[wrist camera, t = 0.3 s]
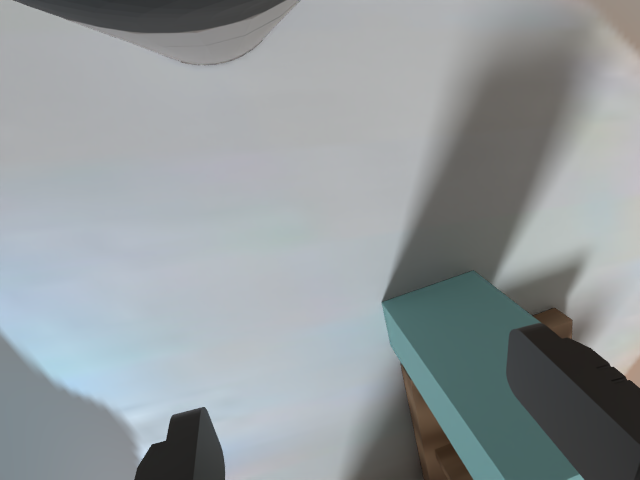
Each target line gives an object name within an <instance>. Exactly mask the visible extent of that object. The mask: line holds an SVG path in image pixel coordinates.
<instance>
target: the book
mask: <svg viewBox="0 0 640 480" xmlns="http://www.w3.org/2000/svg"><path fill="white" fill-rule="evenodd" d="M382 307H383V311H384V316H385V321H386V325H387V330H388V335H389V340H390V344H391V347H392V349H393V350H394V352H395V353H396V355H397V357H398V358H399V360H400V362H401V363H402V365H403V366H404V368H405V370H406V371H407V373H408V374H409V376H410V378H411V379H412V381H413V383H414V384H415V386H416V387H417V389H418V391H419V392H420V394H421V396H422V397H423V399H424V400H425V402H426V404H427V405H428V407H429V408H430V410H431V412H432V413H433V415H434V417H435V418H436V420H437V421H438V423H439V425H440V426H441V428H442V430H443V431H444V433H445V434H446V436H447V438H448V439H449V441H450V442H451V444H452V446H453V447H454V449H455V451H456V452H457V454H458V455H459V457H460V459H461V460H462V462H463V464H464V465H465V467H466V468H467V470H468V472H469V473H470V475H471V476H472V478H473V480H584V479H583V478H582V476H581V475H580V474H579V473H578V472H577V470H576V469H575V468H574V467H573V466H572V464H571V463H570V462H569V461H568V459H567V458H566V457H565V456H564V455H563V453H562V452H561V451H560V450H559V449H558V447H557V446H556V445H555V444H554V443H553V441H552V440H551V439H550V438H549V437H548V435H547V434H546V433H545V432H544V431H543V429H542V428H541V427H540V426H539V424H538V423H537V422H536V421H535V420H534V418H533V417H532V416H531V415H530V414H529V412H528V411H527V410H526V409H525V408H524V406H523V405H522V404H521V403H520V402H519V400H518V399H517V398H516V397H515V395H514V394H513V392H512V390H511V388H510V386H509V384H508V381H507V376H506V366H507V353H508V341H509V333H510V331H511V330H513V329H517V328H520V327H524V326H528V325H532V324H536V323H541V322H539V321H538V320H537V319H536V318H534V317H533V316H532V315H530V314H529V313H528V312H527V311H525V310H524V309H523V308H521V307H520V306H519V305H518V304H516V303H515V302H514V301H512V300H511V299H510V298H508V297H507V296H506V295H505V294H503V293H502V292H501V291H499V290H498V289H497V288H496V287H494V286H493V285H492V284H490V283H489V282H488V281H487V280H485V279H484V278H483V277H481V276H480V275H479V274H478V273H476V272H475V271H474V270H473V271H471V272H468V273H465V274H462V275H459V276H456V277H453V278H450V279H447V280H445V281H442V282H439V283H436V284H433V285H430V286H427V287H424V288H421V289H419V290H416V291H413V292H410V293H407V294H404V295H401V296H398V297H395V298H392V299H390V300H387V301H384V302H382Z"/></svg>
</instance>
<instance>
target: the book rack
mask: <svg viewBox="0 0 640 480" xmlns="http://www.w3.org/2000/svg"><path fill="white" fill-rule="evenodd" d="M533 317H534V318H536V319H537V320H538V321H539V322H541V323H543V324H545V325H546V326H548V327H549V328H550V329H551V330H552V331H554V332H555V333H556V334H557V335H558V336H559V337H561V338H562V339H563V338H567V337H568V338H570V339H572V319H570V318H569V317H567V316H566V315H564V314H563V313H562V312H560V311H559V310H557V309H556V308H553V309H550V310H547V311H544V312H542V313H539V314H536V315H533ZM401 369H402V374H403V379H404V384H405V388H406V393H407V398H408V403H409V408H410V413H411V418H412V423H413V428H414V433H415V438H416V443H417V448H418V453H419V458H420V462H421V467H422V472H423V477H424V480H473V478H472V476H471V475H470V473H469V472H468V470H467V468H466V467H465V465H464V464H463V462H462V460H461V459H460V457H459V455H458V454H457V452H456V451H455V449H454V447H453V446H452V444H451V442H450V441H449V439H448V438H447V436H446V434H445V433H444V431H443V430H442V428H441V426H440V425H439V423H438V421H437V420H436V418H435V417H434V415H433V413H432V412H431V410H430V408H429V407H428V405H427V404H426V402H425V400H424V399H423V397H422V396H421V394H420V392H419V391H418V389H417V387H416V386H415V384H414V383H413V381H412V379H411V378H410V376H409V374H408V373H407V371H406V370H405V368H404V366H403V365H402V364H401Z"/></svg>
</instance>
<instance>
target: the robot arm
mask: <svg viewBox="0 0 640 480" xmlns="http://www.w3.org/2000/svg"><path fill="white" fill-rule="evenodd" d="M14 1H17V2H19V3H22V4H25V5H27V6H30V7H33V8H36V9H39V10H42V11H44V12H47V13H50V14H53V15H56V16H59V17H62V18H64V19H66V20H69V21H72V22H74V23H77V24H80V25H82V26H85V27H88V28H91V29H93V30H96V31H99V32H101V33H104V34H107V35H110V36H112V37H115V38H119V39H122V40H124V41H127V42H129V43H132V44H135V45H137V46H140V47H143V48H145V49H148V50H151V51H153V52H156V53H159V54H161V55H164V56H166V57H169V58H172V59H175V60H178V61H181V62H182V63H186V64H192V65H197V64H198V65H216V64H220V63H221V64H222V63H226V62H229V61H232V60H235V59H237V58H239V57H241V56H243V55H245V54H246V53H248V52H250V51H251V50H253V49H254V48H255V47H256V46H257V45H259V44H260V43H261V42H262V41H263V39H264V38H265V37H266V36H267V35H268V34H269V32H270V31H271V30H272V29H273V28H274V27H275V26H276V25H277V24H278V23H279V22H280V21H281V20H282V19H283V18H284V17H285V16H286V15H287V14H288V13H289V12H290V11H291V10H292V9H293V8H294V7H295V6H296V5H297V3H298V2H299V1H300V0H14ZM506 376H507V381H508V384H509V386H510V388H511V390H512V392H513V394H514V395H515V397H516V398H517V399H518V400H519V402H520V403H521V404H522V405H523V406H524V408H525V409H526V410H527V411H528V412H529V414H530V415H531V416H532V417H533V418H534V420H535V421H536V422H537V423H538V424H539V426H540V427H541V428H542V429H543V431H544V432H545V433H546V434H547V435H548V437H549V438H550V439H551V440H552V441H553V443H554V444H555V445H556V446H557V447H558V449H559V450H560V451H561V452H562V453H563V455H564V456H565V457H566V458H567V459H568V461H569V462H570V463H571V464H572V466H573V467H574V468H575V469H576V470H577V472H578V473H579V474H580V475H581V476H582V478H583V479H584V480H640V388H639V387H638V386H636V385H635V384H634V383H633V382H632V381H630V380H627V379H626V377H625V376H624V375H623V374H622V373H620V372H619V371H618V370H617V369H616V368H614V367H611V366H610V364H609V363H608V362H607V361H606V360H604V359H603V358H602V357H601V356H600V355H598V354H597V353H596V352H595V351H593V350H592V349H591V348H589V347H587V346H585V345H583V344H580V343H578V342H576V341H574V340H572V339H570V338H568V337H567V338H563V339H562V338H561V337H559V336H558V335H557V334H556V333H555V332H554V331H552V330H551V329H550V328H549V327H548V326H546V325H545V324H543V323H536V324H532V325H528V326H524V327H520V328H517V329H513V330H511V331H510V333H509V341H508V353H507V366H506ZM134 480H225V464H224V456H223V452H222V448H221V445H220V442H219V440H218V437H217V435H216V432H215V429H214V427H213V424H212V422H211V419H210V416H209V414H208V411H207V409H206V408H205V407H202V408H198V409H194V410H190V411H186V412H182V413H178V414H174V415H173V416H172V417H171V419H170V423H169V429H168V434H167V439H166V441H163V442H160V443H156V444H152V445H151V447H150V448H149V450H148V452H147V453H146V455H145V456H144V458H143V460H142V461H141V463H140V464H139V466H138V468H137V471H136V475H135V479H134Z"/></svg>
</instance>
